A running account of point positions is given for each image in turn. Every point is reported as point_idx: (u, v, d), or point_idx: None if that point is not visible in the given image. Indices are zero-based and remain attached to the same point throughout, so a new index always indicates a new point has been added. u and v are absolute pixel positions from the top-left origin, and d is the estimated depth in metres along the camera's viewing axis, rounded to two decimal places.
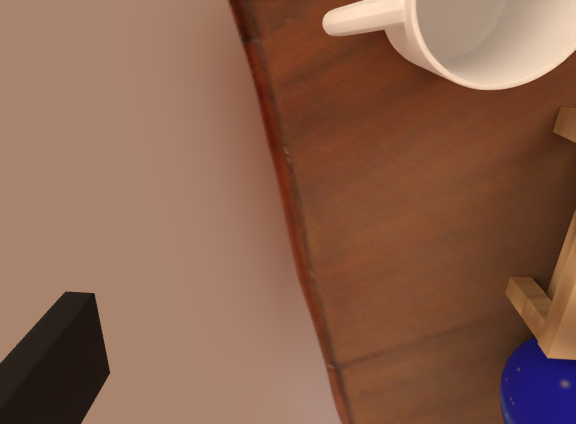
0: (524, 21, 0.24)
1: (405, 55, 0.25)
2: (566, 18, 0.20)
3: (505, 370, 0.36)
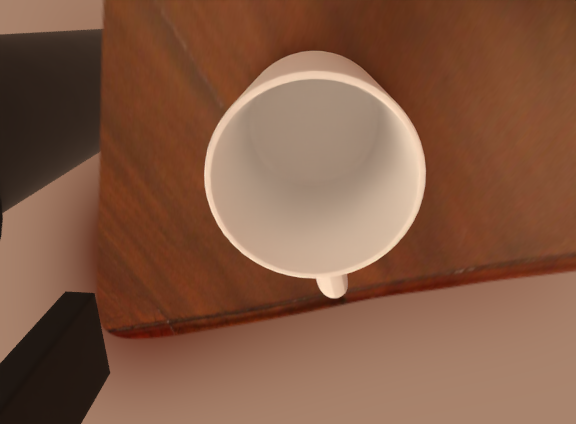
0: None
1: None
2: None
3: None
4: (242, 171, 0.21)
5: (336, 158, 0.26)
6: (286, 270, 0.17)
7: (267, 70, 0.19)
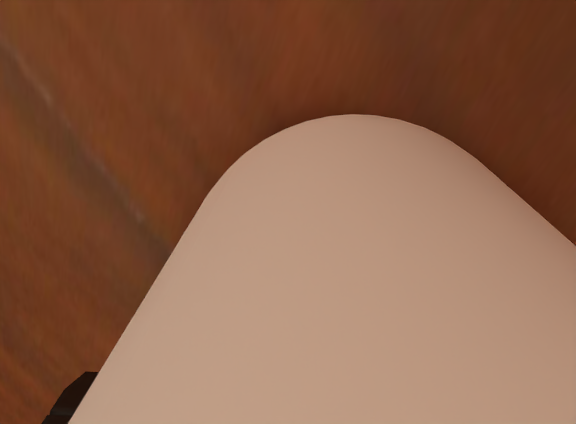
0: None
1: None
2: None
3: None
4: None
5: None
6: None
7: (230, 215, 0.06)
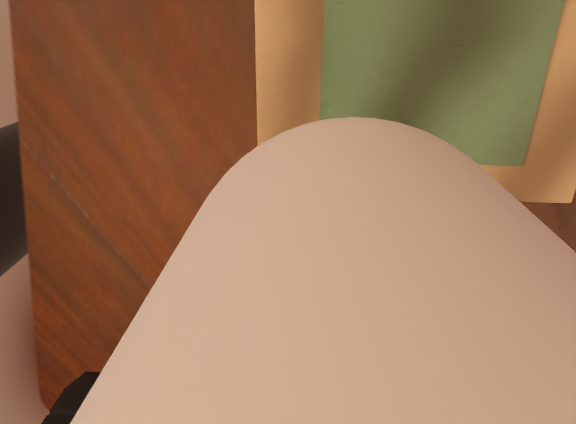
0: None
1: None
2: None
3: None
4: None
5: None
6: None
7: (228, 219, 0.06)
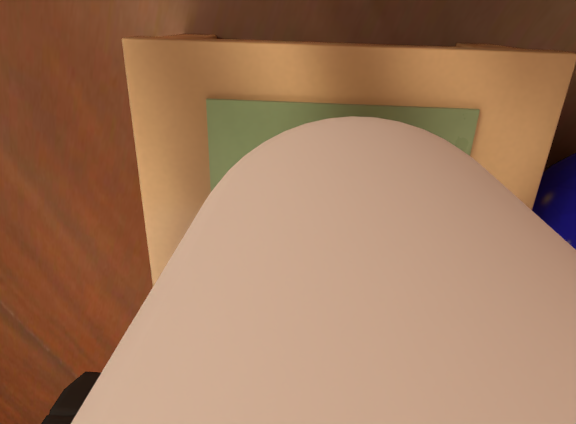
0: None
1: None
2: None
3: None
4: None
5: None
6: None
7: (229, 218, 0.06)
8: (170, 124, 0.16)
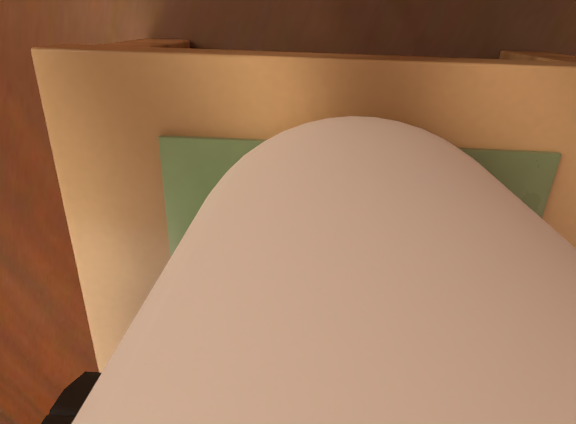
0: None
1: None
2: None
3: None
4: None
5: None
6: None
7: (230, 217, 0.06)
8: (110, 171, 0.11)
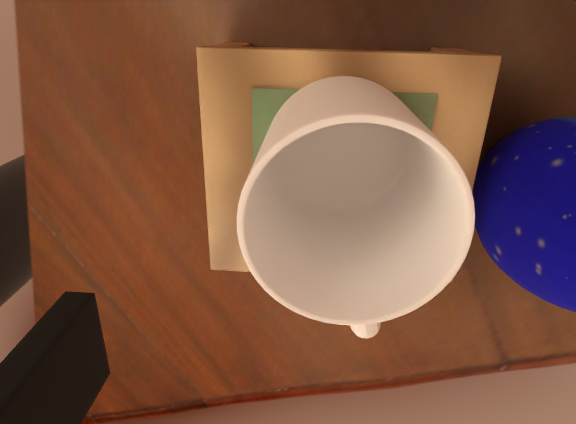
0: None
1: None
2: None
3: None
4: (269, 204, 0.21)
5: (364, 185, 0.25)
6: (321, 317, 0.16)
7: (298, 101, 0.18)
8: (226, 106, 0.24)
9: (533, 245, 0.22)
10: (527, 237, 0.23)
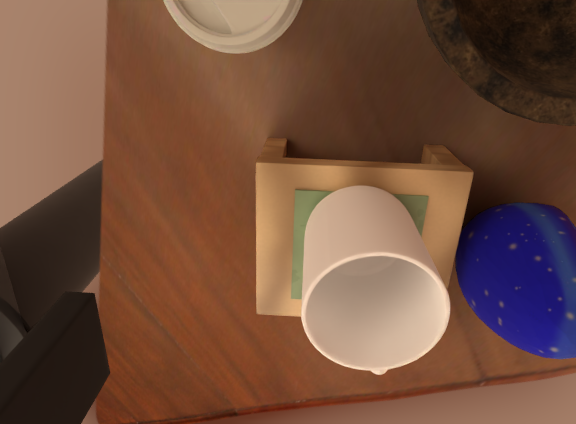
0: None
1: None
2: None
3: None
4: None
5: (375, 256, 0.34)
6: (352, 365, 0.25)
7: (334, 217, 0.27)
8: (275, 201, 0.33)
9: (496, 305, 0.31)
10: (492, 298, 0.32)
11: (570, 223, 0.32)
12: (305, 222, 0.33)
